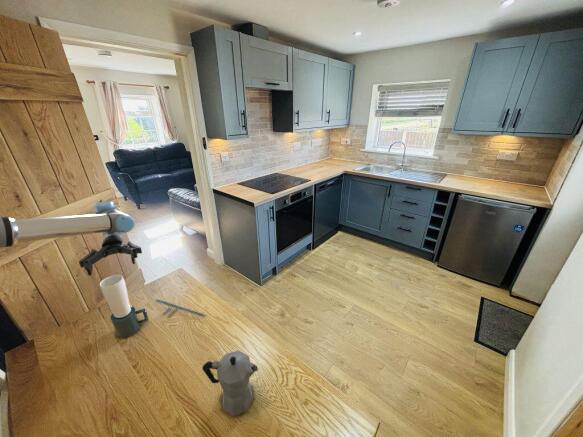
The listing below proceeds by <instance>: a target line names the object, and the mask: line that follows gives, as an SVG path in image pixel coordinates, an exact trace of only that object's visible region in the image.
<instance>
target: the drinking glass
mask: <svg viewBox="0 0 583 437" xmlns="http://www.w3.org/2000/svg"><path fill="white" fill-rule="evenodd" d="M99 288H100V290H101V293H102V296H103V298H104V300H105V301H106V303H107V305H108V307H109V308H110V310H111V312H112V313H113V315H114V317H116V318H122V317H125V316H127V315H128V314H129V313H130V312H131V307H130V306H131V303H130V299H129V298H130V297H129V293H128V288H127V284H126V281H125V279H124V277H123V275H122V274H121V275H120V274H114V275H110V276H108V277H105V278H104V279H102V280H101V281H100V283H99Z"/></svg>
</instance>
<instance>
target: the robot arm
mask: <svg viewBox="0 0 583 437" xmlns="http://www.w3.org/2000/svg"><path fill="white" fill-rule="evenodd" d="M93 209H94V214H83V215H63V216H51V217H50V216H49V217H34V218H33V217H32V218H31V217H30V218H15V219H14V218H11V217H10V216H0V249H3V248H9V247H11V248H12V247H14V246H15V245H17V244H18V243H26V242H34V241H42V240H51V239H58V238H65V237H67V238H68V237H75V236H83V235H92V234H100V233H102V240H101V248H100V249H97V250H96V248H93V249H91V250H90V252H89V253H87V254H86V255H85V256H84V257H83V258H81V259H80V260H79V261H78V264H79V266H80V268H84V270H85V271H86V272H87V275H88V276H92V273H93V268H94V264H96V263H97V262H99V261H100V260H102V259H105V258H107V257H108V256H112V255H117V254H121V255H123V254H126V255H130V260H131V263H132V265H135V264H136V259H137V258H138V254H142V253H143V251H142V247H141V246H138V245H136V244H135V243H132V241H127V242H126V243H124V234H125V233H129V232H131V231H133V229H134V228H135V226H136V220H135V218H133V217H132V216H130V215H129V214H127V213H124V212H122V211H120V210H118V209H117V207H116V205H115V202H114V201H102V202H98V203H96V204H95V205H94V206H93Z"/></svg>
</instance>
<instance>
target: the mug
mask: <svg viewBox="0 0 583 437" xmlns="http://www.w3.org/2000/svg"><path fill="white" fill-rule="evenodd" d="M130 307H131V312H130V313H129V314H128V315H127V316H125V317H122V318H116V317H114V315H113V312H112V313H111V314H110V322H111V324H112V327H113V330H114V331H115V334H116V337H118V338H120V339H124V338H125V339H126V338H128V337H131V336H133V335H135V334H136V333H137V332H138V331H139V330H140V328H141V324H143V323H146V322H148V321H149V314H148V311H147V309H146V307H145V308H144V307H143V308H141V309H137V310H136V307H134V306H133V305H130ZM141 313H142V315H143V317H144V318H141V319H140V320H139V316H138V315H140V314H141Z"/></svg>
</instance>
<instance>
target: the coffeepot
mask: <svg viewBox="0 0 583 437" xmlns="http://www.w3.org/2000/svg"><path fill="white" fill-rule="evenodd" d="M211 370H216V377H217V378H215V375H214V373H213V372H212V371H211ZM202 371H203V372H204V374H205V375H206V377H207V379H208V380H209V381H210V382H211V383H212V384H219V385H220V387H221V389H222V397H221V398H222V410H223V411H224V412H226V413H227V414H229V415H231V416H232V417H235V416H238V415H241V414H243V413H246V412H247V410H248V408H249V407H250V405H251V404H252V402H253V400H254V398H253V393H252V387H251V384H250V378H251V377H252V376H253V375H254V374H255V373H256V372H258V371H259V366H258V365H256V364H255V363H252V362H251V361H250V356H249V355H248V354H246V353H244V352H243V351H240V350H235V351H232V352H227V353H225V354H224V356H222V357H221V359H220V360H219V361H218V360H217V361H216V360H214V361H206V362H205V363H204V364H203V366H202Z"/></svg>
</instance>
